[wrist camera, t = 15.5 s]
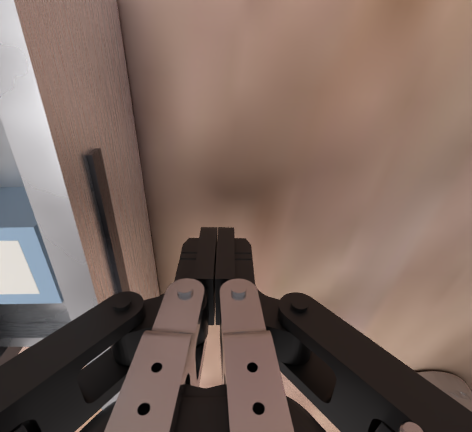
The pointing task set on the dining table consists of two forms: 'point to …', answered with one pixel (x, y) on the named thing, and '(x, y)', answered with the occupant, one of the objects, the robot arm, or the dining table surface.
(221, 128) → the dining table surface
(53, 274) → the cartridge
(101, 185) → the tray
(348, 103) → the dining table surface
